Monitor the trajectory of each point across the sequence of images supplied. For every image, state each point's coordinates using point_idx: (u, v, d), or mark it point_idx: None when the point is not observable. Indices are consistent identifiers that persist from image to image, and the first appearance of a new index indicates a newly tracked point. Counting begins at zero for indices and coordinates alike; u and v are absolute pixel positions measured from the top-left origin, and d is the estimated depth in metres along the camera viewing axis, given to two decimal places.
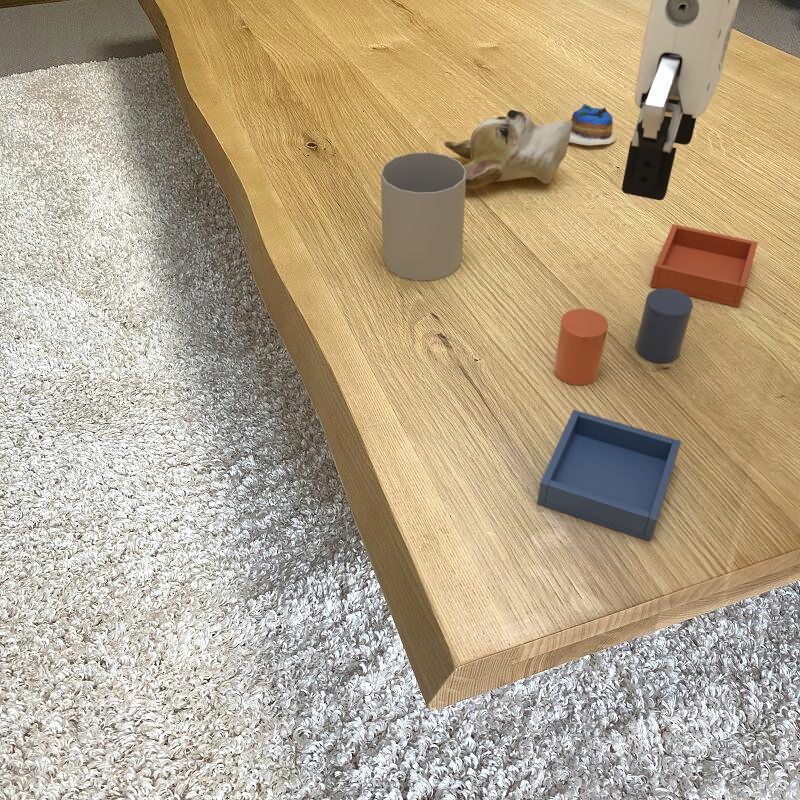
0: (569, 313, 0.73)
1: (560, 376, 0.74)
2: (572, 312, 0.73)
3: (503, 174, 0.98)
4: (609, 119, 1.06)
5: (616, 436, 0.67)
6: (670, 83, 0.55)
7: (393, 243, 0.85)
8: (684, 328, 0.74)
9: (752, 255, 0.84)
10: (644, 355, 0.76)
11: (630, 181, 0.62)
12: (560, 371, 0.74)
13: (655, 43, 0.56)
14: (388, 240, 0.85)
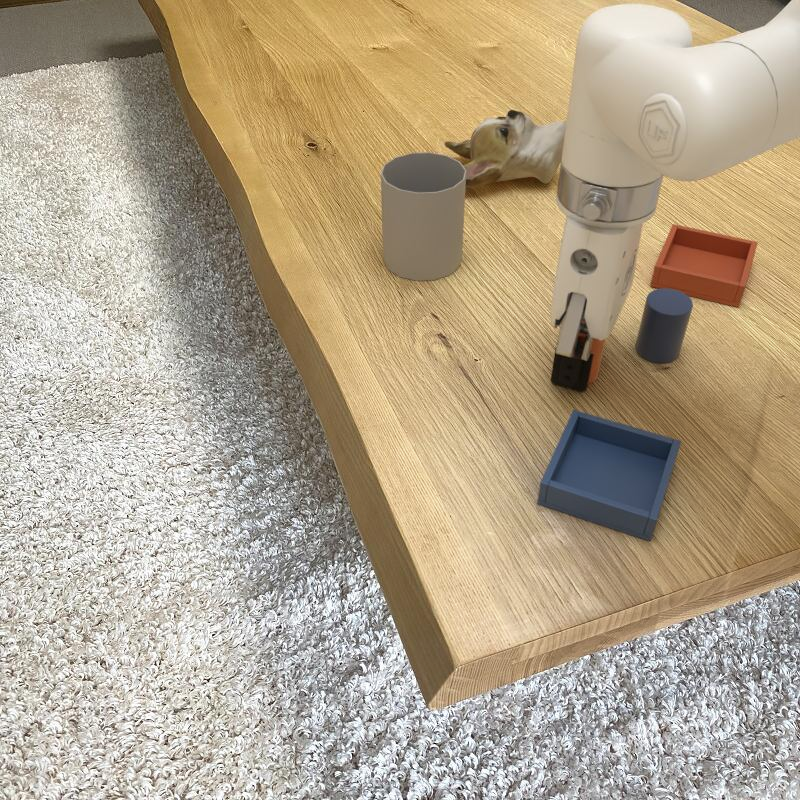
0: None
1: None
2: None
3: (503, 174, 0.98)
4: None
5: (616, 436, 0.67)
6: (576, 329, 0.65)
7: (393, 243, 0.85)
8: (684, 328, 0.74)
9: (752, 255, 0.84)
10: (644, 355, 0.76)
11: (557, 375, 0.73)
12: None
13: (564, 283, 0.65)
14: (388, 240, 0.85)
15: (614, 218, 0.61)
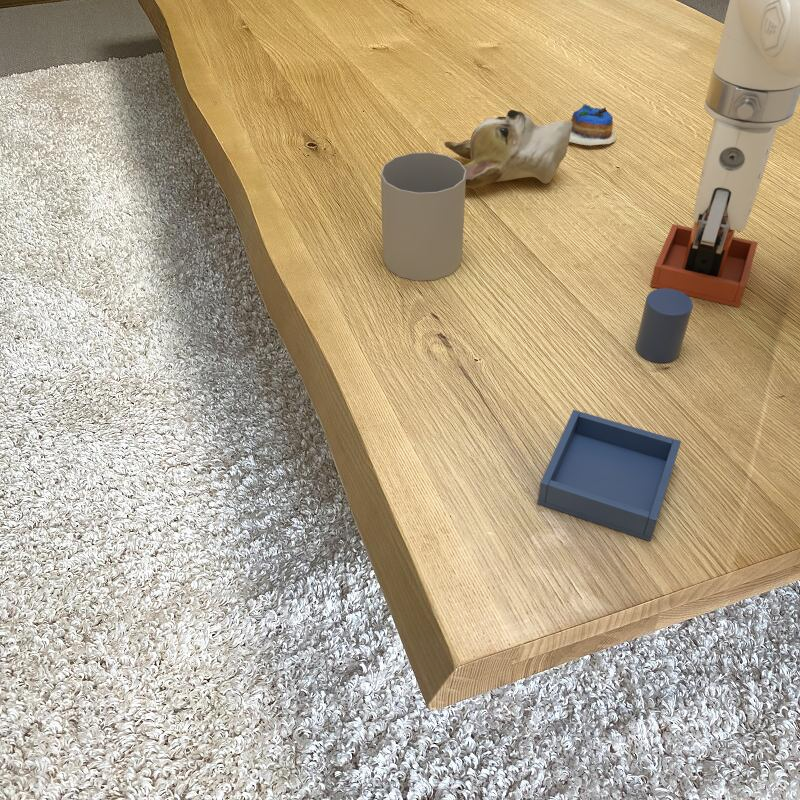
0: None
1: None
2: None
3: (503, 174, 0.98)
4: (609, 119, 1.06)
5: (616, 436, 0.67)
6: (720, 221, 0.76)
7: (393, 243, 0.85)
8: (684, 328, 0.74)
9: (752, 255, 0.84)
10: (644, 355, 0.76)
11: None
12: None
13: (710, 180, 0.75)
14: (388, 240, 0.85)
15: (761, 119, 0.71)
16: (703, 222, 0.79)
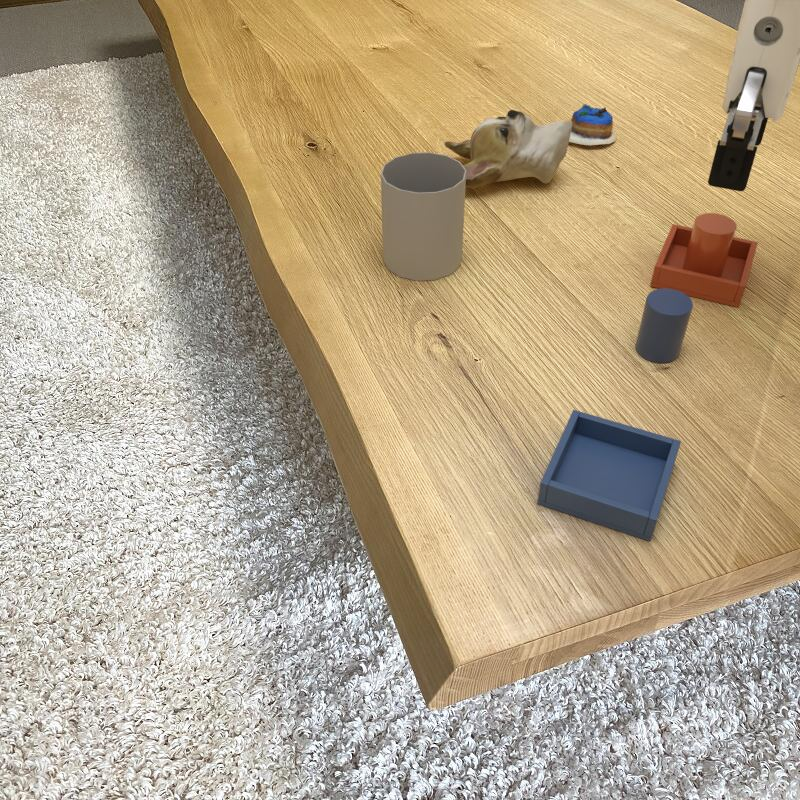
0: (700, 216, 0.83)
1: None
2: (703, 215, 0.83)
3: (503, 174, 0.98)
4: (609, 119, 1.06)
5: (616, 436, 0.67)
6: (757, 92, 0.66)
7: (393, 243, 0.85)
8: (684, 328, 0.74)
9: (752, 255, 0.84)
10: (644, 355, 0.76)
11: (716, 175, 0.73)
12: (690, 269, 0.85)
13: (743, 59, 0.67)
14: (388, 240, 0.85)
15: None
16: (734, 109, 0.70)
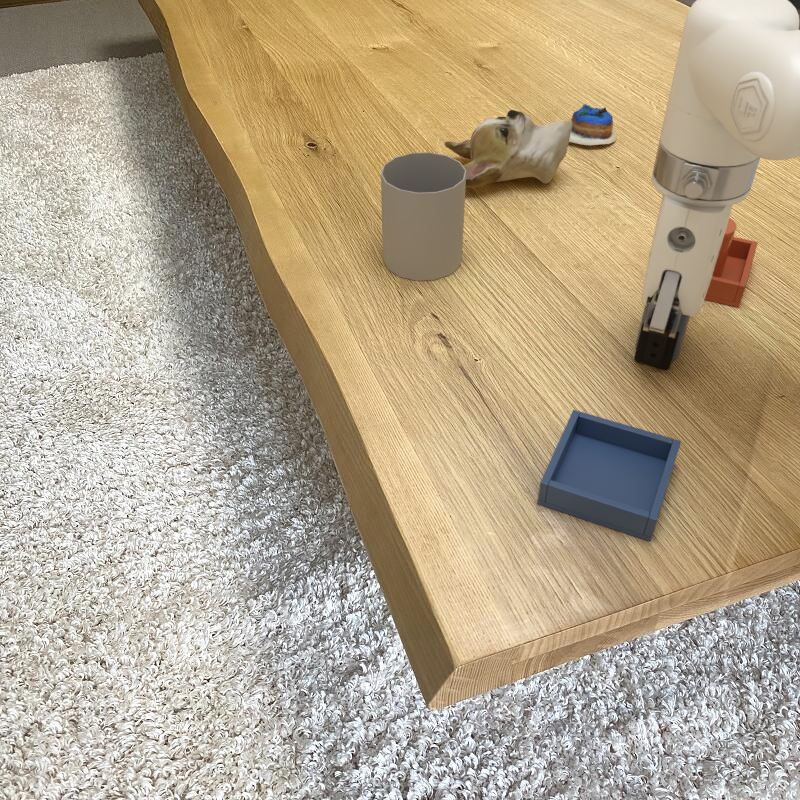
0: None
1: None
2: None
3: (503, 174, 0.98)
4: (609, 119, 1.06)
5: (616, 436, 0.67)
6: (670, 306, 0.67)
7: (393, 243, 0.85)
8: (684, 328, 0.74)
9: (752, 255, 0.84)
10: None
11: (641, 353, 0.75)
12: None
13: (659, 261, 0.67)
14: (388, 240, 0.85)
15: (713, 197, 0.63)
16: (654, 303, 0.71)
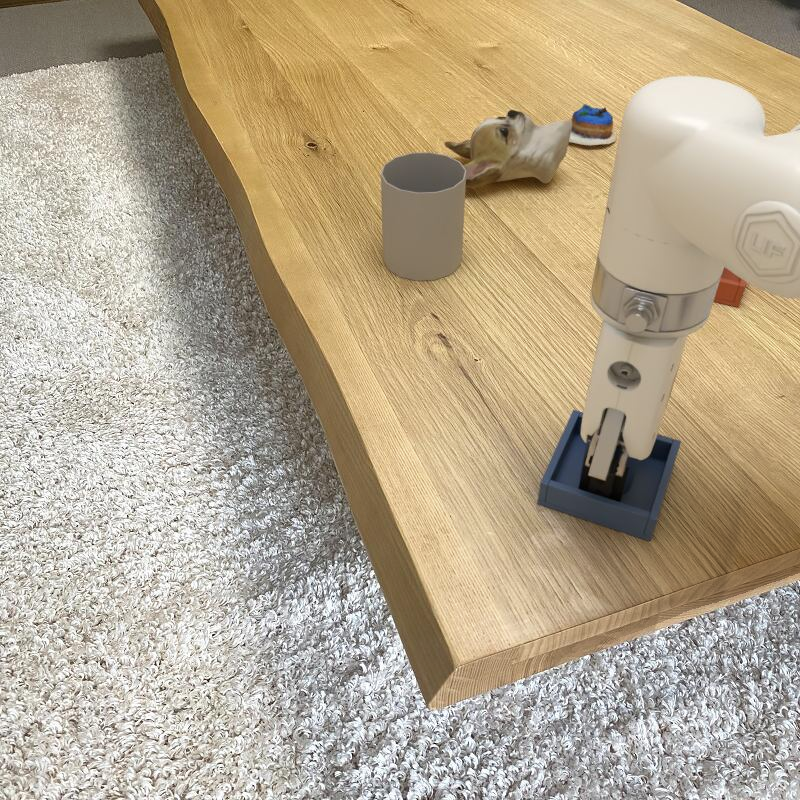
0: None
1: None
2: None
3: (503, 174, 0.98)
4: (609, 119, 1.06)
5: None
6: (613, 449, 0.55)
7: (393, 243, 0.85)
8: (635, 460, 0.62)
9: None
10: None
11: (585, 487, 0.63)
12: None
13: (598, 396, 0.54)
14: (388, 240, 0.85)
15: (662, 328, 0.50)
16: (597, 437, 0.59)
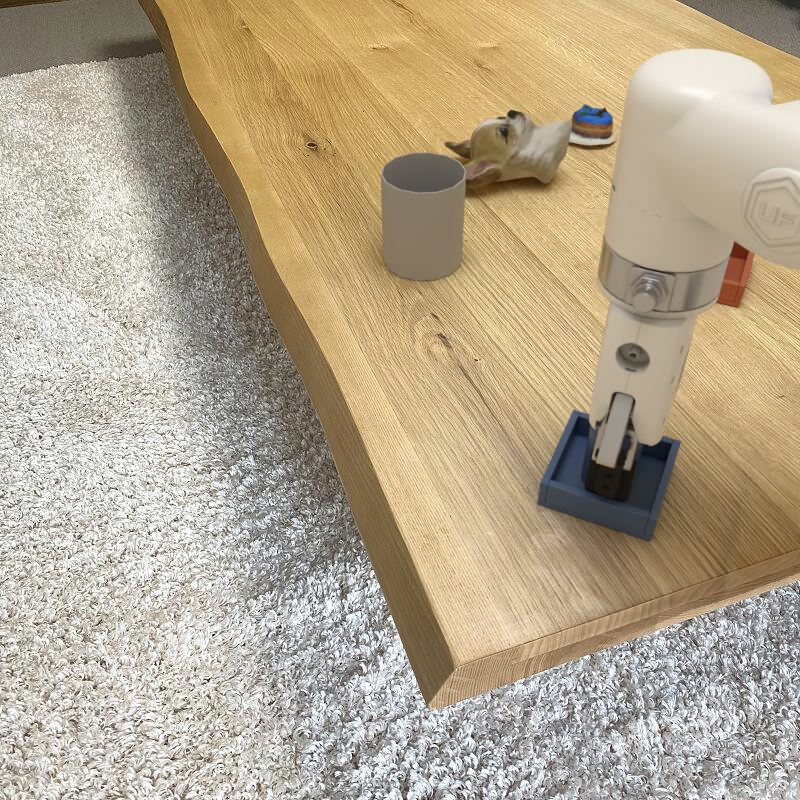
0: None
1: None
2: None
3: (503, 174, 0.98)
4: (609, 119, 1.06)
5: None
6: (622, 434, 0.53)
7: (393, 243, 0.85)
8: (636, 460, 0.62)
9: (752, 255, 0.84)
10: None
11: (593, 483, 0.61)
12: None
13: (607, 380, 0.53)
14: (388, 240, 0.85)
15: (671, 307, 0.49)
16: (604, 426, 0.57)
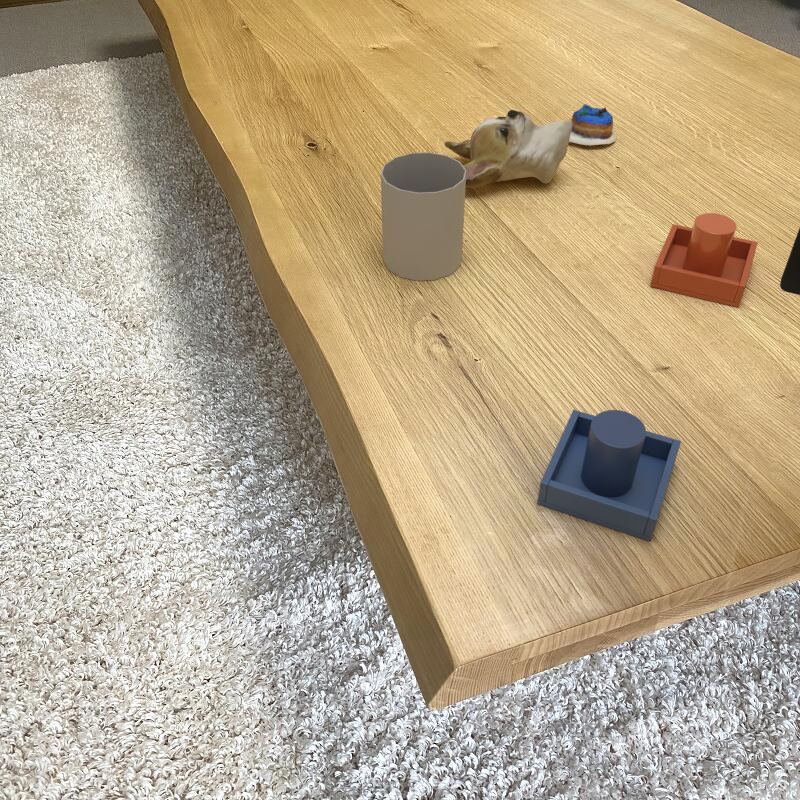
0: (700, 216, 0.83)
1: None
2: (703, 215, 0.83)
3: (503, 174, 0.98)
4: (609, 119, 1.06)
5: None
6: None
7: (393, 243, 0.85)
8: (636, 460, 0.62)
9: (752, 255, 0.84)
10: (590, 487, 0.64)
11: (796, 274, 0.39)
12: (690, 269, 0.85)
13: None
14: (388, 240, 0.85)
15: None
16: None
